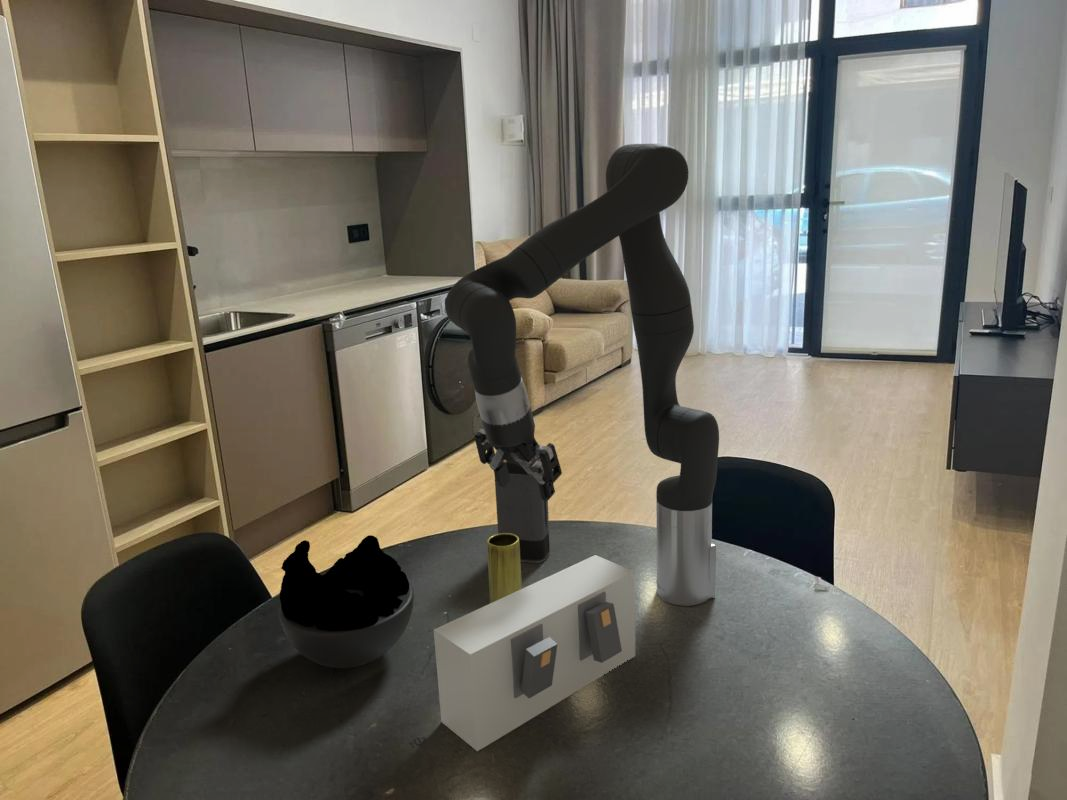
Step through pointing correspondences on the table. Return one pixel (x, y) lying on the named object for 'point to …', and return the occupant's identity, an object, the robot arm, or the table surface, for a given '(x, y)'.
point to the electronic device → (524, 513)
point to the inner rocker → (603, 632)
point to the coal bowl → (345, 605)
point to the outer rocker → (539, 667)
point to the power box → (513, 626)
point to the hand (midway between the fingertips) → (526, 490)
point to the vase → (503, 565)
